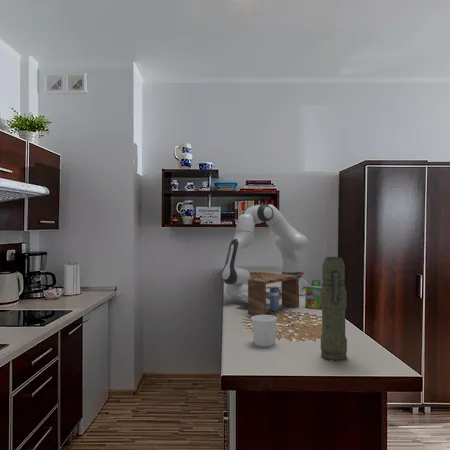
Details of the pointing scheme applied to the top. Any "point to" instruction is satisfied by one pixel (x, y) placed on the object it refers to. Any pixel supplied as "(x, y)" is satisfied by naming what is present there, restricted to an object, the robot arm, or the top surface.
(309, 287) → the chalk box
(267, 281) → the riser
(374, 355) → the top surface
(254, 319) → the cup
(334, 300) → the thermos
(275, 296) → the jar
